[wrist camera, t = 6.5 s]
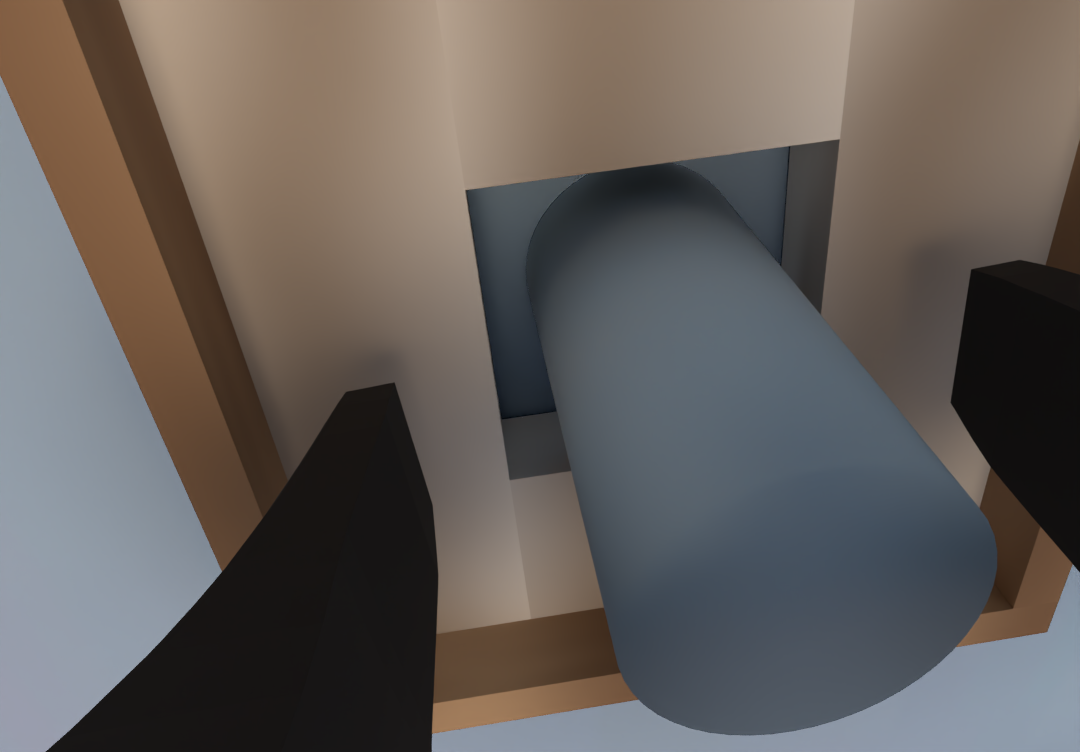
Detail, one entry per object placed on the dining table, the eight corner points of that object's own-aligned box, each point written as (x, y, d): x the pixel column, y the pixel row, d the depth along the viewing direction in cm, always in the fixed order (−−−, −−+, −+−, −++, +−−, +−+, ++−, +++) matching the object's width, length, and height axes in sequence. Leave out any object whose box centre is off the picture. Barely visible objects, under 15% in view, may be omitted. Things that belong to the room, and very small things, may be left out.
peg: (742, 144, 12) (1037, 434, 6) (736, 341, 14) (959, 700, 8) (513, 177, 12) (603, 506, 6) (538, 371, 14) (624, 760, 8)
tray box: (1160, -293, 10) (1409, -331, 7) (955, 514, 17) (1046, 632, 15) (37, -164, 9) (-104, -158, 7) (321, 614, 17) (304, 754, 14)
